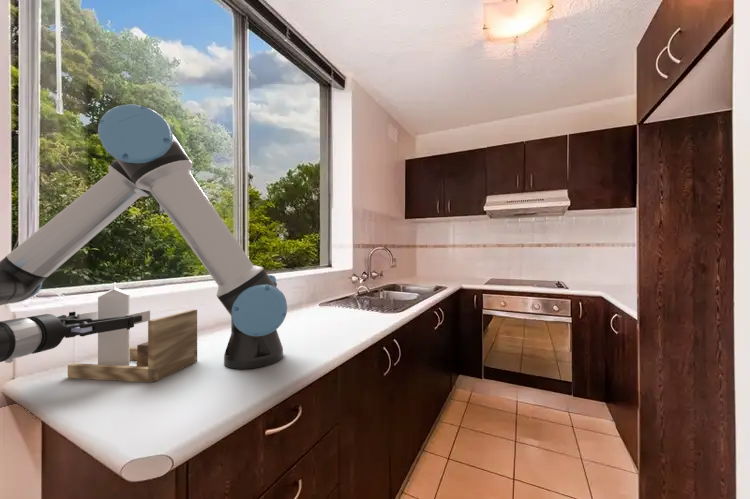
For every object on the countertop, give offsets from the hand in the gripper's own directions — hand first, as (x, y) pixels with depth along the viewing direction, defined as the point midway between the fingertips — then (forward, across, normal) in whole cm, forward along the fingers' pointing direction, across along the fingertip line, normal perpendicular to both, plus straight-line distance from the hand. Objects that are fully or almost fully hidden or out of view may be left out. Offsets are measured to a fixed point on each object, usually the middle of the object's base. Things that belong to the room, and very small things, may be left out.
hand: (126, 314), depth 83 cm
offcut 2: (-4, +12, -11) cm, 17 cm away
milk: (-3, 0, -13) cm, 14 cm away
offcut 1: (-4, +12, -8) cm, 15 cm away
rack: (-3, +6, -13) cm, 15 cm away
